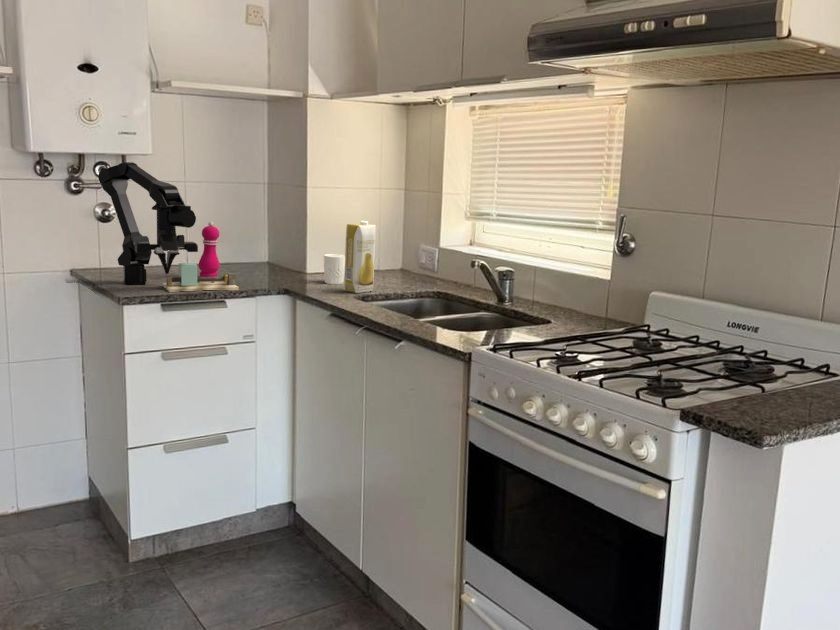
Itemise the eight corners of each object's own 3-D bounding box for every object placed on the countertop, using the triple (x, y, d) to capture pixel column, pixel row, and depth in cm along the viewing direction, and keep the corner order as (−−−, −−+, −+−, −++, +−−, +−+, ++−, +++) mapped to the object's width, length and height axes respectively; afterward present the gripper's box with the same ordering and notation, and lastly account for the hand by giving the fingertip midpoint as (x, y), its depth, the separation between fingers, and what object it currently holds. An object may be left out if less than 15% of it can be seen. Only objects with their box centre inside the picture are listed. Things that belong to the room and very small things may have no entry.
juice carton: (356, 294, 264) (359, 222, 260) (340, 290, 270) (343, 219, 265) (376, 291, 271) (379, 221, 267) (360, 288, 276) (363, 219, 272)
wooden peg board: (169, 292, 250) (169, 277, 249) (162, 286, 261) (162, 272, 260) (238, 290, 260) (238, 276, 260) (229, 284, 271) (229, 270, 270)
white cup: (318, 283, 283) (319, 255, 281) (330, 280, 290) (331, 253, 288) (337, 285, 280) (338, 257, 278) (349, 282, 287) (350, 255, 285)
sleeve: (181, 285, 256) (181, 264, 254) (179, 283, 259) (179, 263, 258) (197, 285, 258) (197, 264, 257) (194, 283, 261) (194, 262, 260)
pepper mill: (206, 280, 276) (208, 223, 272) (193, 276, 280) (196, 220, 276) (223, 279, 282) (226, 223, 278) (210, 275, 286) (213, 220, 282)
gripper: (139, 227, 240) (139, 278, 243) (201, 227, 249) (201, 276, 252) (133, 223, 250) (134, 272, 253) (194, 224, 259) (194, 271, 262)
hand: (166, 273), depth 255 cm, fingers closed
